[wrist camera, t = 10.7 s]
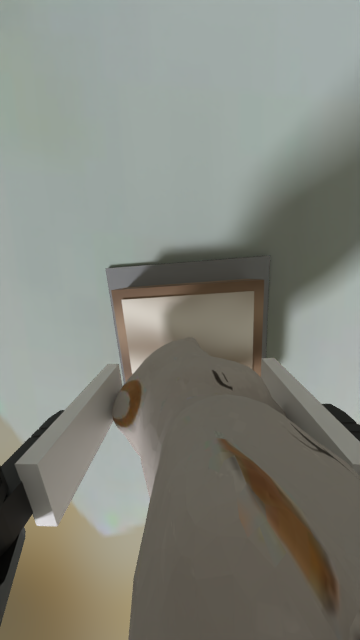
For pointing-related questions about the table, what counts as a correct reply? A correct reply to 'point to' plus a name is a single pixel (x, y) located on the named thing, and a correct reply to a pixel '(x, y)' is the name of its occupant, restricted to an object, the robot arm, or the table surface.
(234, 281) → the plinth
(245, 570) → the figurine
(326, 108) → the table surface
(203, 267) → the mat
